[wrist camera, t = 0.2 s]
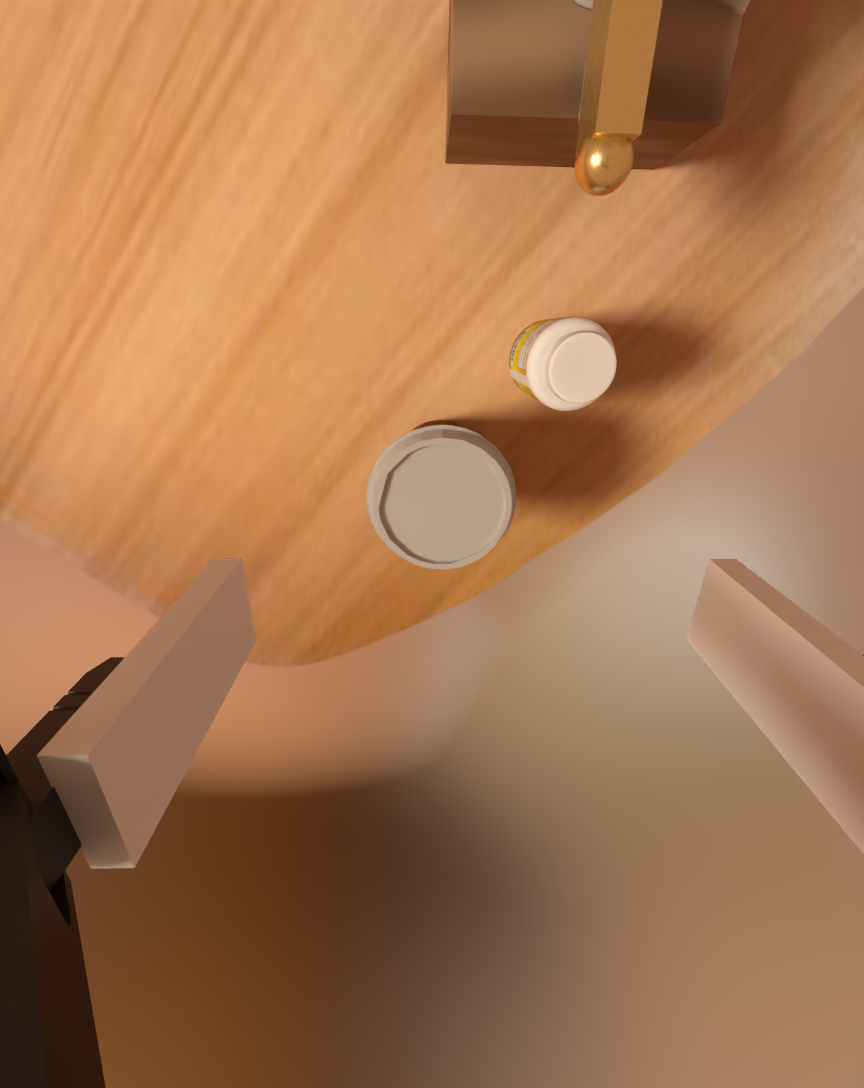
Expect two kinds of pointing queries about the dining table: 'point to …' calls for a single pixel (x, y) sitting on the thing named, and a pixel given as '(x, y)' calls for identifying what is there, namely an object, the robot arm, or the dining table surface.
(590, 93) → the capstan
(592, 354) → the supplement bottle
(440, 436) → the disposable coffee cup
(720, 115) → the stand
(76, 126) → the dining table surface
